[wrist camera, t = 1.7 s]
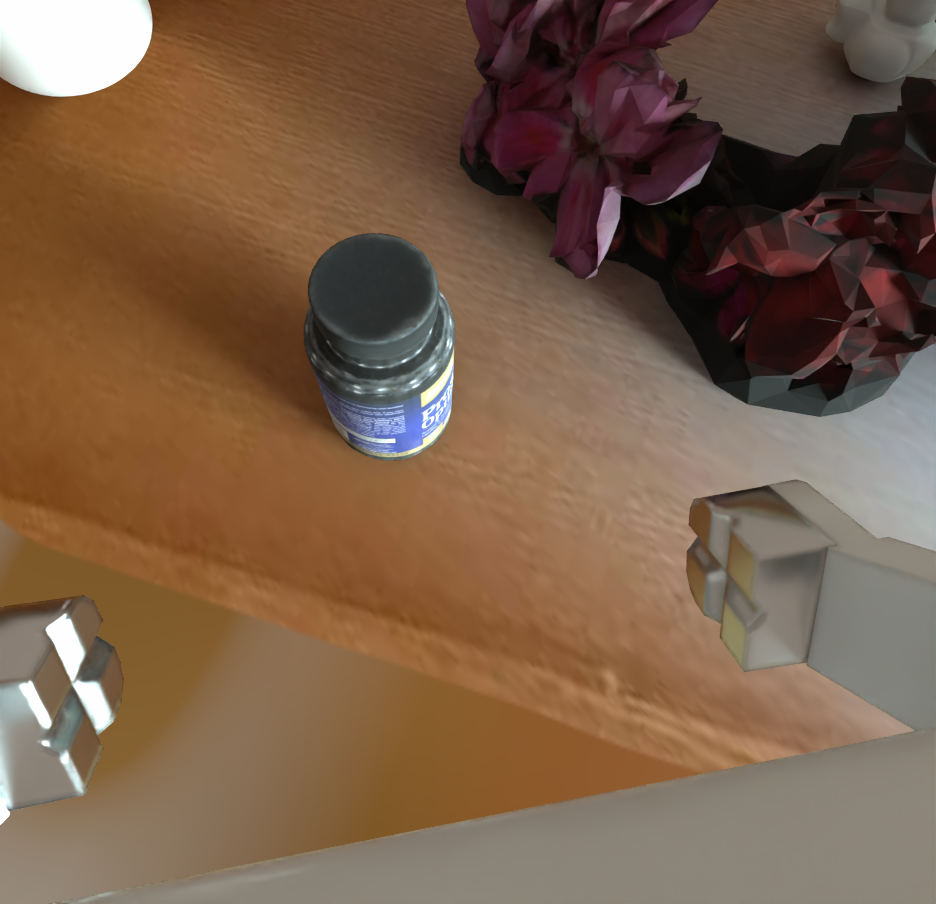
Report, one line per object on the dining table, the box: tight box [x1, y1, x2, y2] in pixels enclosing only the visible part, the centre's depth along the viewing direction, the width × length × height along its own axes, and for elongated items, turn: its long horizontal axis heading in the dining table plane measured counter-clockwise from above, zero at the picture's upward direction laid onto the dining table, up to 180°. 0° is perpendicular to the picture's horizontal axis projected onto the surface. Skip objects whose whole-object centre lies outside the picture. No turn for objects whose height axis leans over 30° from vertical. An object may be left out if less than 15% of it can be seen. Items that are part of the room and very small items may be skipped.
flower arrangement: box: [460, 0, 936, 417], centre depth 32 cm, size 31×20×15 cm, turn 60°
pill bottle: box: [304, 233, 455, 460], centre depth 30 cm, size 6×6×11 cm
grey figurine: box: [826, 0, 936, 82], centre depth 40 cm, size 5×7×8 cm
